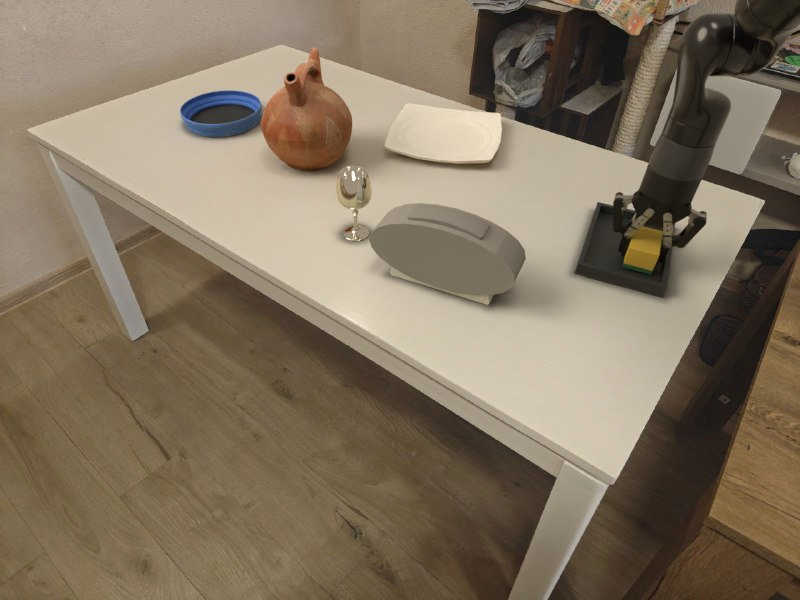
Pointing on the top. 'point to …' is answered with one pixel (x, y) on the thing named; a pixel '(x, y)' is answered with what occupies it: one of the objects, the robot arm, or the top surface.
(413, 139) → the plate
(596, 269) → the tray
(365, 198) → the wineglass
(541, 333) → the top surface
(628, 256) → the sponge
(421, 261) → the alarm clock
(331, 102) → the jug
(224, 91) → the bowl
